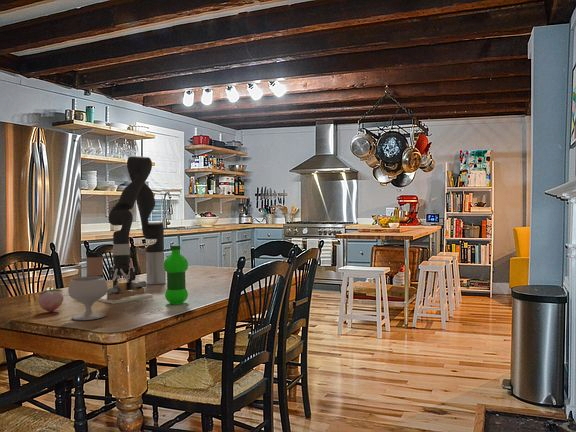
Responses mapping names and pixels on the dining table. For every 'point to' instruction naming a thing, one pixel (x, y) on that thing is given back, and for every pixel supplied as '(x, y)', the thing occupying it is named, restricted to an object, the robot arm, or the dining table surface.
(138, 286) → the shaft
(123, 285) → the coupler
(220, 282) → the dining table surface
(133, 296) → the pale beige flat slab
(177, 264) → the plastic bottle
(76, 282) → the chalice
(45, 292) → the decorative fruit
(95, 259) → the travel mug
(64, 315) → the dining table surface
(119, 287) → the grey rounded block
